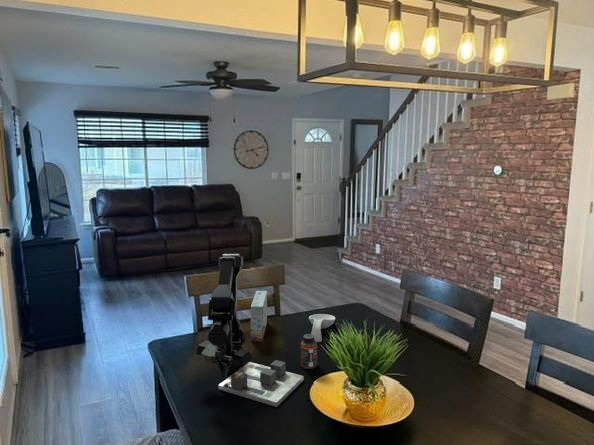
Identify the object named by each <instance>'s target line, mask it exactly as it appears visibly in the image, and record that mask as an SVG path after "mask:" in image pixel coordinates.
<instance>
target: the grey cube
mask: <svg viewBox="0 0 594 445" xmlns="http://www.w3.org/2000/svg"><path fill="white" fill-rule="evenodd" d="M234 373H235V372H234ZM234 373H233V375H232V376H231V375H230V376H231V387H234V388H237V389H243V388H244V387H245V386H246V385H247V374H243V373H242V372H241V373H240V372H236V373H235V374H234Z"/></svg>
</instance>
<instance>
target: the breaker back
mask: <svg viewBox="0 0 594 445" xmlns="http://www.w3.org/2000/svg"><path fill="white" fill-rule="evenodd" d="M269 367H270V369H271V370H275V371H276V375H277V376H280V377H281V376H282V375H283V374H284V373H285V372H287V366H286V362H285V361H282V360H276V359H275V360H274V361H273V362H271V363H270V366H269Z"/></svg>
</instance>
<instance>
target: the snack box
mask: <svg viewBox="0 0 594 445" xmlns="http://www.w3.org/2000/svg"><path fill="white" fill-rule="evenodd" d="M267 324H268V290H255V293H254V296H253V299H252V302H251V305H250V342H264V336H265V332H266V328H267Z"/></svg>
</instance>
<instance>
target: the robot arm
mask: <svg viewBox="0 0 594 445" xmlns="http://www.w3.org/2000/svg"><path fill="white" fill-rule="evenodd" d="M243 266H244V257H243V256H241V254H240V253H222V256H218V267H220V269H219V276H218V282H217V287H216V288H215V289H214V290H213V291H212V294H211V297H210V298H209V302H208V313H207V320H208V321H212V323H211V324H212V325H211V326H210V329H209V332H208V334H207V339H208V340H204V341H202V342H200V344H198V345H197V346H196V348H195V353H196V355H199V356H201V357H202V358H203V361H204V363H209V364H212V365H214V364H216V365H217V366H216V367H218V370H219V372H220V374H221V377H222V378H226V377H227V376H228V373H229V370H230V368H231V366H232V365H235V366H238V367H239V366H240V367H241V366H242V367H243V366H245V365H246V364H247V363H249V362H251V360H252V358H253V357H252V355H253V354H252V351H250V350H247V349H243V345H244V344H245V343H246V336H245V332H244V329H243V328H242V323H241V320H240V319H239V317H238V276H239V275H240V274H241V271H242V267H243Z"/></svg>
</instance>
